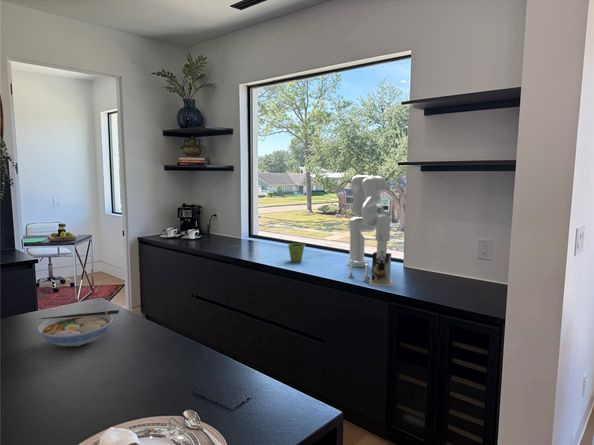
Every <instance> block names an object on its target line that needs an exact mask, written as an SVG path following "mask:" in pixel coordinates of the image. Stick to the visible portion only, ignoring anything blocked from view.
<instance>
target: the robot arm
mask: <svg viewBox="0 0 594 445" xmlns="http://www.w3.org/2000/svg"><path fill="white" fill-rule="evenodd" d="M350 185H351V190H352V193H353V194H352V208H351V209H352V214H353V215H354V216H357V217H352V218H350V219H349V222H348V226H349V228H348V229H349V261H347V262H346V265H347V266H349V267H350V261H358V262H365V242H366V240H365V237H364V235H363V234H362V233H372V232H374V231H375V241H376V252H377V259H378V258H379V266H378V270H382V271H384V268H385V263H384V258H383V257H385V259H386V253H388V252H387V251H388V242H390V238H391V237H390V236H391V216H390V215H387V214H386V213H378V205H377V204H378V203H380V202H381V194H380V193H382V192H383V193H384V192H385V191H386V190H387V187H388V185H387V180H386V179H385V178H384V177H383V176H378V175H354V176H353V177H352V178H351V184H350ZM360 216H361V217H360ZM365 265H366V264H363V263H353V267H355V268H363V267H364V268H365Z"/></svg>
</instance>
